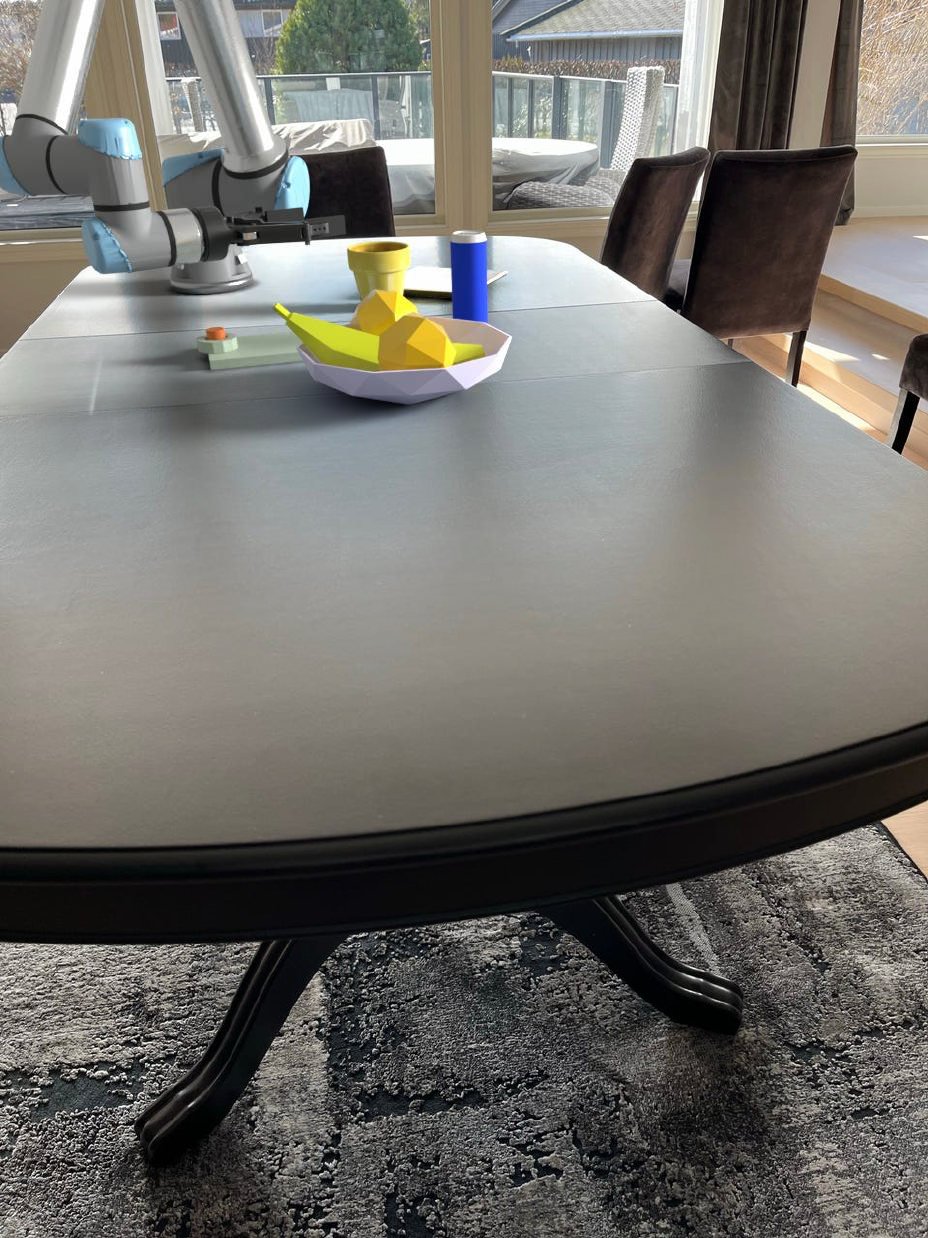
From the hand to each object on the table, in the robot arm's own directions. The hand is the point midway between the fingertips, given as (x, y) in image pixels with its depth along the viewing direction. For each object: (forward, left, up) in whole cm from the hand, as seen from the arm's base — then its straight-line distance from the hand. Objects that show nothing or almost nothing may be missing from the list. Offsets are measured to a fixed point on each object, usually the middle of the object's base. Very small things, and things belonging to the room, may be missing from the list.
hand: (323, 220), depth 149 cm
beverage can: (+24, +17, -15) cm, 33 cm away
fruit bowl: (+43, +2, -15) cm, 45 cm away
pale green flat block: (+20, -13, -15) cm, 28 cm away
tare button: (+20, -19, -12) cm, 30 cm away
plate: (-12, +22, -15) cm, 29 cm away
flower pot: (-3, +9, -15) cm, 18 cm away
